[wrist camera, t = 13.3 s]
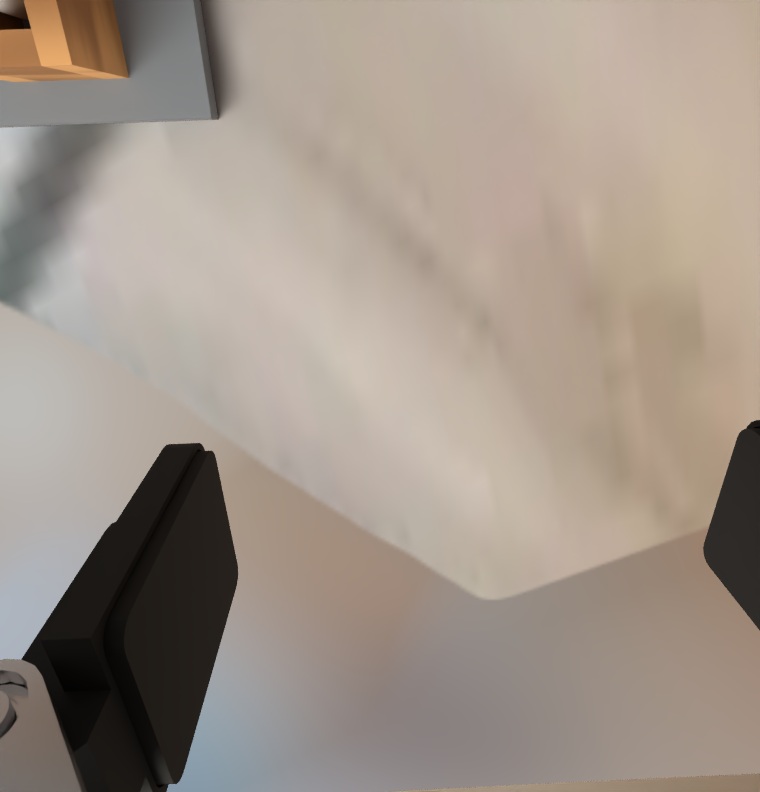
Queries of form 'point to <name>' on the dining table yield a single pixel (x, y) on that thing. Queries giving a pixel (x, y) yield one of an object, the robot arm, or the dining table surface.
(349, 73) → the dining table surface
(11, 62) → the cube
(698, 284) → the dining table surface
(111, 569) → the robot arm
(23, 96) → the rod stand
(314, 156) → the dining table surface
